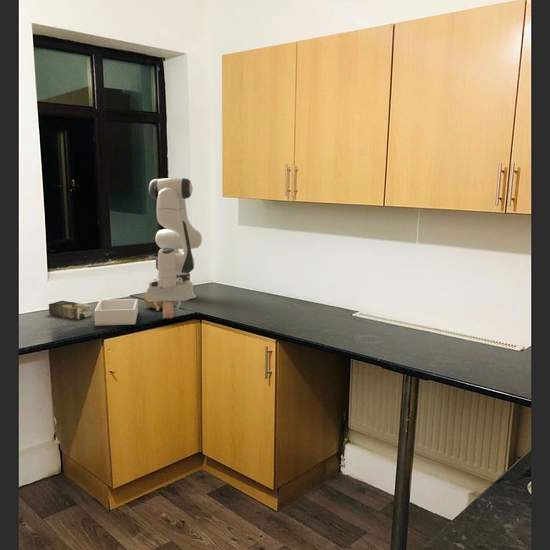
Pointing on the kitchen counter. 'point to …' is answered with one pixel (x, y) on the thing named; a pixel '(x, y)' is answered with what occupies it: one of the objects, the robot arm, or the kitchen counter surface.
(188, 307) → the kitchen counter surface
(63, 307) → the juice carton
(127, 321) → the bin
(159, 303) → the potato
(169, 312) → the wooden block
